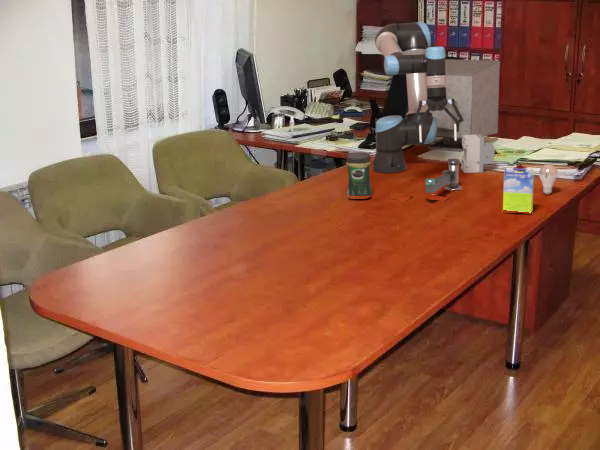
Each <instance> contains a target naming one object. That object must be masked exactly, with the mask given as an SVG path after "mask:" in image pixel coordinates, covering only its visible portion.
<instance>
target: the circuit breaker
mask: <svg viewBox="0 0 600 450" xmlns="http://www.w3.org/2000/svg"><path fill="white" fill-rule="evenodd" d="M462 136H463V137H462V146H463V149H464V150H463V157H462V158H461V160H460V161H461V162H460V163H461V170H462V171H463V173H464V174H465V173H467V174H470V173H471V174H472V173H474V174H475V173H484V165H485V164H486V165H487V164H488V165H489V164H494V163H495V161H494V160H495V155H497V154H498V151H497V149H495V145H494V144H493V143H492V142H491V141H490V142H485V137H482V136H481V134H480V135H462Z"/></svg>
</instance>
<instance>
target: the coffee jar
mask: <svg viewBox="0 0 600 450" xmlns="http://www.w3.org/2000/svg"><path fill="white" fill-rule="evenodd" d="M371 161H372V160H371V156H370V152H369V151H368V152H367V151H366V152H365V151H363V152H362V151H361V152H358V151H356V152H348V153H347V155H346V167H347V170H348V171H347V172H348V174H347V175H348V178H347V179H348V180H347V196H348V195H350V196H370V195H372V194H373V191H372V184H371V175H370V168H371V167H370V166H371V165H372V162H371ZM372 196H373V195H372Z"/></svg>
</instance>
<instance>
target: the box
mask: <svg viewBox="0 0 600 450" xmlns="http://www.w3.org/2000/svg"><path fill="white" fill-rule="evenodd" d="M534 182H535V172H534V169H533V168H514V167H505V168H504V173H503V187H502V188H503V193H502V194H503V195H502V196H503V197H502V211H503V210H507V211H518V212H529V213H531V212H532V211H533V209H534V208H533V207H534V185H535V184H534ZM532 213H533V212H532Z"/></svg>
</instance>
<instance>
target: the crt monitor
mask: <svg viewBox="0 0 600 450" xmlns="http://www.w3.org/2000/svg"><path fill="white" fill-rule="evenodd" d="M500 62H501V61H500V60H484V59H482V60H481V59H479V60H478V59H452V58H451V59H449V58H448V59H447V58H445V68H446V85H445V87H446V98H447V100H449V99H454V100H455V105H456V107H457V108H458V110H459V112H460V114H461V116H462V118H463V119H464V121H463V122H460V123H459V132H456V136H457V141H455V140H454V124H456V122H455V121H454V120H453V119H452V118H451V117H450V116H449V115H448V114H447V113H446V111H445V110H444V109H443V110H441V111H438V110H437V111H432V110H430V111H431V112H432V117H436V119H437V131H436V137H435V138H440V139H439V140H437V141H436V142H433V144H432V143H431V145H430V146H428V147H427V149H429V150H434V151H435V150H436V151H447V152H459V153H462V152H464V149H463V146H462V137H463V136H462V135H480V134H481V136H482V137H483V138H485V137H487V136H491V135H494V134H498V130H499V103H500V102H499V97H500V70H501V69H500V67H501V63H500ZM426 85H427V80H426ZM427 88H428V87H427ZM445 107H446V108H447V109H448V110H449V111H450V112H451V113H452V114H453V115H454V117H455V118H456V119H457V120H459V117H458V115H457V113H456V112H455V110H454V108H453V106H452V104H450V103H449V102H448V103H447V104H446V106H445ZM428 108H429V107H428Z"/></svg>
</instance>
